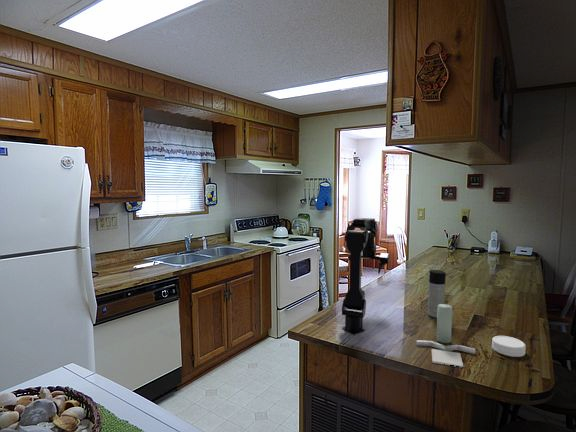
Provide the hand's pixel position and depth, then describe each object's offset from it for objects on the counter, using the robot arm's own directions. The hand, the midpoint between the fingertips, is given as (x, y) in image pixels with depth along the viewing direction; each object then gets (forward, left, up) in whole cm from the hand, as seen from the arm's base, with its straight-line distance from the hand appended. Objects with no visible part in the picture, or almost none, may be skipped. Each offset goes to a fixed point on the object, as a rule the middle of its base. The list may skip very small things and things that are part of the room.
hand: (369, 272), depth 169 cm
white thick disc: (+6, -61, -16) cm, 63 cm away
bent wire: (-12, -49, -16) cm, 52 cm away
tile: (-18, -53, -15) cm, 58 cm away
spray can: (+14, -27, -16) cm, 34 cm away
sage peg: (-6, -44, -15) cm, 47 cm away
